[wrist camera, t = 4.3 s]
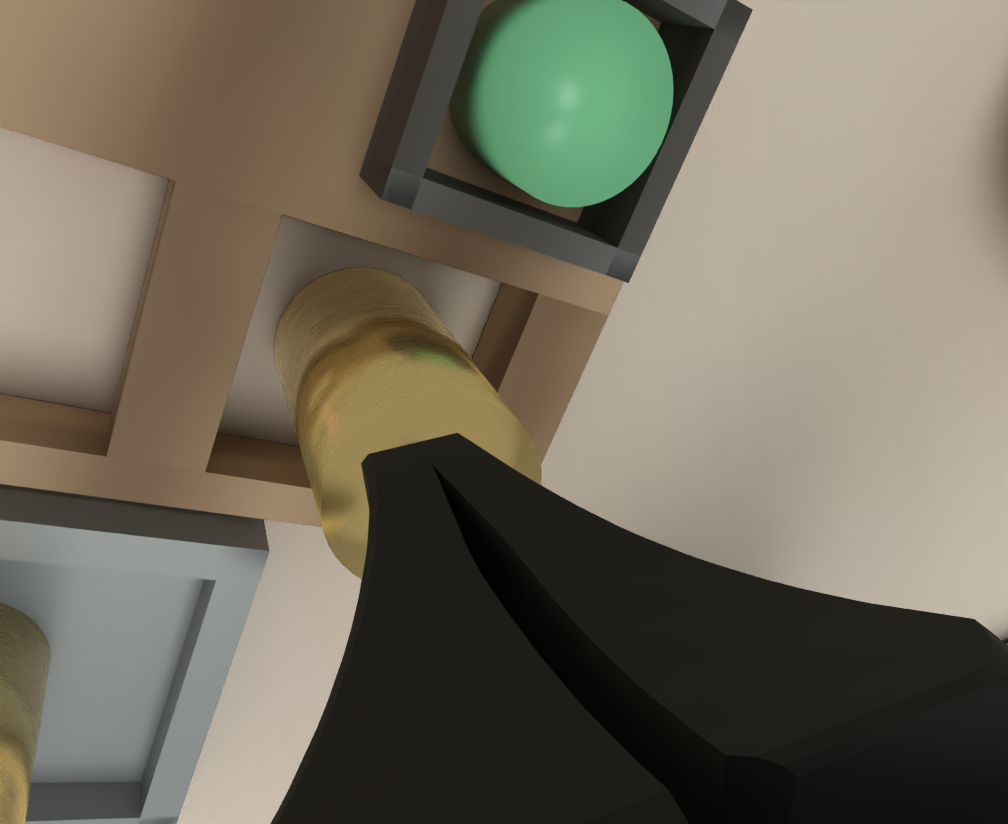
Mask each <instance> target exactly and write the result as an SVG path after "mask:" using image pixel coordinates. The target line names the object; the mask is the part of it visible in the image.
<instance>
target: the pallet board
mask: <svg viewBox="0 0 1008 824" xmlns="http://www.w3.org/2000/svg"><path fill="white" fill-rule="evenodd" d="M496 1H498V0H0V127H3V128H6V129H9V130H12V131H16V132H19V133H22V134H25V135H29V136H32V137H35V138H38V139H42V140H45V141H48V142H51V143H54V144H58V145H61V146H64V147H67V148H71V149H74V150H77V151H80V152H83V153H87V154H90V155H93V156H96V157H100V158H103V159H106V160H109V161H112V162H116V163H119V164H122V165H125V166H129V167H132V168H135V169H138V170H142V171H145V172H148V173H151V174H154V175H158V176H161V177H164V178H167V179H170V180H169V184H168V188H167V192H166V196H165V200H164V204H163V208H162V212H161V216H160V220H159V224H158V228H157V232H156V236H155V240H154V244H153V248H152V252H151V256H150V260H149V264H148V268H147V272H146V276H145V280H144V284H143V288H142V292H141V296H140V300H139V304H138V308H137V312H136V316H135V320H134V324H133V328H132V332H131V337H130V341H129V345H128V349H127V353H126V357H125V361H124V365H123V369H122V373H121V377H120V381H119V385H118V389H117V393H116V397H115V401H114V405H113V409H112V413H106V412H100V411H95V410H89V409H83V408H78V407H72V406H67V405H61V404H55V403H50V402H44V401H39V400H33V399H27V398H22V397H16V396H11V395H5V394H0V484H6V485H13V486H20V487H28V488H35V489H43V490H50V491H58V492H65V493H73V494H80V495H87V496H95V497H102V498H110V499H117V500H125V501H132V502H140V503H147V504H154V505H162V506H169V507H177V508H184V509H192V510H199V511H207V512H214V513H221V514H229V515H236V516H244V517H251V518H259V519H266V520H274V521H281V522H288V523H296V524H303V525H311V526H318V527H322V523H321V520H320V516H319V513H318V509H317V506H316V502H315V499H314V495H313V492H312V488H311V485H310V481H309V478H308V474H307V471H306V467H305V464H304V460H303V457H302V453H301V450H300V447H296V446H290V445H285V444H279V443H274V442H268V441H262V440H257V439H251V438H246V437H240V436H234V435H229V434H223V433H218V432H217V431H218V427H219V424H220V421H221V417H222V414H223V411H224V407H225V404H226V401H227V397H228V394H229V391H230V387H231V384H232V381H233V377H234V374H235V370H236V367H237V364H238V360H239V357H240V354H241V350H242V347H243V344H244V340H245V337H246V334H247V330H248V327H249V324H250V320H251V317H252V314H253V310H254V307H255V304H256V300H257V297H258V294H259V290H260V287H261V283H262V280H263V277H264V273H265V270H266V267H267V263H268V260H269V257H270V253H271V250H272V247H273V243H274V240H275V237H276V233H277V230H278V227H279V223H280V220H281V217H282V214H283V215H287V216H290V217H293V218H296V219H300V220H303V221H306V222H309V223H312V224H316V225H319V226H322V227H325V228H329V229H332V230H335V231H338V232H341V233H345V234H348V235H351V236H354V237H358V238H361V239H364V240H367V241H370V242H374V243H377V244H380V245H383V246H387V247H390V248H393V249H396V250H400V251H403V252H406V253H409V254H412V255H416V256H419V257H422V258H425V259H429V260H432V261H435V262H438V263H441V264H445V265H448V266H451V267H454V268H458V269H461V270H464V271H467V272H470V273H474V274H477V275H480V276H483V277H487V278H490V279H493V280H496V281H500V282H503V283H502V286H501V288H500V290H499V293H498V295H497V298H496V300H495V303H494V305H493V308H492V310H491V313H490V315H489V318H488V320H487V323H486V325H485V328H484V330H483V333H482V335H481V338H480V340H479V343H478V345H477V348H476V350H475V353H474V355H473V358H472V361H473V362H474V364H475V365H476V366H477V368H478V369H479V370H480V372H481V373H482V374H483V375H484V377H485V378H486V379H487V381H488V382H489V383H490V384H491V386H492V387H493V388H494V390H495V391H496V392H497V393H498V395H499V396H500V397H501V399H502V400H503V401H504V402H505V404H506V405H507V406H508V408H509V409H510V410H511V411H512V413H513V414H514V415H515V417H516V418H517V419H518V420H519V422H520V423H521V424H522V426H523V427H524V428H525V429H526V431H527V432H528V433H529V435H530V437H531V438H532V440H533V442H534V444H535V446H536V449H537V452H538V455H539V460H540V465H541V463H542V461H543V459H544V457H545V455H546V452H547V450H548V448H549V446H550V444H551V441H552V439H553V437H554V435H555V432H556V430H557V428H558V426H559V424H560V421H561V419H562V417H563V415H564V413H565V410H566V408H567V406H568V404H569V402H570V399H571V397H572V395H573V393H574V390H575V388H576V386H577V384H578V382H579V379H580V377H581V375H582V373H583V371H584V368H585V366H586V364H587V362H588V360H589V357H590V355H591V353H592V351H593V348H594V346H595V344H596V342H597V340H598V337H599V335H600V333H601V331H602V329H603V326H604V324H605V322H606V320H607V318H608V315H609V313H610V311H611V309H612V306H613V304H614V302H615V300H616V298H617V295H618V293H619V291H620V289H621V287H622V284H623V282H627V283H629V281H630V279H631V276H632V274H633V272H634V270H635V268H636V265H637V263H638V261H639V259H640V257H641V254H642V252H643V250H644V248H645V246H646V243H647V241H648V239H649V237H650V235H651V232H652V230H653V228H654V226H655V224H656V221H657V219H658V217H659V215H660V213H661V210H662V208H663V206H664V204H665V202H666V199H667V197H668V195H669V193H670V191H671V188H672V186H673V184H674V182H675V180H676V177H677V175H678V173H679V171H680V169H681V166H682V164H683V162H684V160H685V158H686V155H687V153H688V151H689V149H690V147H691V144H692V142H693V140H694V138H695V136H696V133H697V131H698V129H699V127H700V125H701V122H702V120H703V118H704V116H705V114H706V111H707V109H708V107H709V105H710V103H711V100H712V98H713V96H714V94H715V92H716V89H717V87H718V85H719V83H720V81H721V78H722V76H723V74H724V72H725V70H726V67H727V65H728V63H729V61H730V59H731V56H732V54H733V52H734V50H735V48H736V45H737V43H738V41H739V39H740V37H741V34H742V32H743V30H744V28H745V26H746V23H747V21H748V19H749V17H750V15H751V12H752V9H750V8H749V7H747V6H745V5H743V4H742V3H740V2H738V1H737V0H622V1H624V2H627V3H628V4H630V5H631V6H633V7H634V8H636V9H637V10H638V11H640V12H641V13H642V14H643V15H644V16H645V17H646V18H647V19H648V20H649V21H650V23H651V24H652V25H653V26H654V27H655V29H656V31H657V32H658V34H659V35H660V37H661V39H662V41H663V43H664V46H665V48H666V50H667V53H668V57H669V60H670V64H671V69H672V75H673V105H672V111H671V117H670V120H669V124H668V128H667V131H666V134H665V136H664V139H663V141H662V143H661V145H660V147H659V149H658V151H657V153H656V155H655V156H654V158H653V159H652V161H651V163H650V164H649V165H648V167H647V168H646V169H645V170H644V172H643V173H642V174H641V175H640V176H639V177H638V178H637V179H636V180H635V181H634V182H633V183H632V184H631V185H629V186H628V187H627V188H626V189H624V190H623V191H621V192H620V193H618V194H616V195H615V196H613V197H611V198H609V199H607V200H605V201H602V202H600V203H596V204H593V205H589V206H582V207H562V206H556V205H552V204H549V203H545V202H543V201H541V200H539V199H537V198H535V197H533V196H532V195H530V194H528V193H527V192H525V191H524V190H522V189H520V188H519V187H517V186H516V185H514V184H513V183H511V182H509V181H508V180H506V179H505V178H503V177H501V176H500V175H498V174H497V173H495V172H494V171H492V170H490V169H489V168H487V167H486V166H484V165H483V164H482V163H481V162H480V161H478V160H477V159H476V158H475V157H474V156H473V155H472V153H471V152H470V151H469V150H468V149H467V147H466V146H465V144H464V143H463V141H462V140H461V137H460V135H459V133H458V131H457V129H456V126H455V123H454V120H453V117H452V112H451V107H450V99H451V96H452V93H453V90H454V87H455V85H456V82H457V79H458V76H459V73H460V70H461V67H462V65H463V62H464V59H465V56H466V53H467V50H468V48H469V45H470V42H471V39H472V36H473V33H474V30H475V28H476V25H477V22H478V19H479V16H480V14H481V13H482V12H483V11H484V10H485V9H487V8H488V7H489V6H490V5H492V4H493V3H495V2H496Z"/></svg>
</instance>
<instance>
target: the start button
mask: <svg viewBox="0 0 1008 824" xmlns="http://www.w3.org/2000/svg"><path fill="white" fill-rule="evenodd" d="M672 105H673V75H672V69H671V64H670V60H669V57H668V53H667V50H666V48H665V46H664V43H663V41H662V39H661V37H660V35H659V34H658V32H657V31H656V29H655V27H654V26H653V25H652V24H651V23H650V21H649V20H648V19H647V18H646V17H645V16H644V15H643V14H642V13H641V12H640V11H638V10H637V9H636V8H634V7H633V6H631V5H630V4H628V3H627V2H624V1H622V0H498V1H496V2H495V3H493V4H492V5H490V6H489V7H488V8H487V9H485V10H484V11H483V12H482V13H481V14H480V16H479V19H478V22H477V25H476V28H475V30H474V33H473V36H472V39H471V42H470V45H469V48H468V50H467V53H466V56H465V59H464V62H463V65H462V67H461V70H460V73H459V76H458V79H457V82H456V85H455V87H454V90H453V93H452V96H451V99H450V107H451V112H452V117H453V120H454V123H455V126H456V129H457V131H458V133H459V135H460V137H461V140H462V141H463V143H464V144H465V146H466V147H467V149H468V150H469V151H470V152H471V153H472V155H473V156H474V157H475V158H476V159H477V160H478V161H480V162H481V163H482V164H483V165H484V166H486V167H487V168H489V169H490V170H492V171H494V172H495V173H497V174H498V175H500V176H501V177H503V178H505V179H506V180H508V181H509V182H511V183H513V184H514V185H516V186H517V187H519V188H520V189H522V190H524V191H525V192H527V193H528V194H530V195H532V196H533V197H535V198H537V199H539V200H541V201H543V202H545V203H549V204H552V205H556V206H562V207H582V206H589V205H593V204H596V203H600V202H602V201H605V200H607V199H609V198H611V197H613V196H615V195H616V194H618V193H620V192H621V191H623V190H624V189H626V188H627V187H628V186H629V185H631V184H632V183H633V182H634V181H635V180H636V179H637V178H638V177H639V176H640V175H641V174H642V173H643V172H644V170H645V169H646V168H647V167H648V165H649V164H650V163H651V161H652V159H653V158H654V156H655V155H656V153H657V151H658V149H659V147H660V145H661V143H662V141H663V139H664V136H665V134H666V131H667V128H668V124H669V120H670V117H671V111H672Z"/></svg>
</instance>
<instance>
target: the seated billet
mask: <svg viewBox="0 0 1008 824" xmlns="http://www.w3.org/2000/svg"><path fill="white" fill-rule="evenodd" d="M274 349H275V360H276V364H277V369H278V372H279V376H280V379H281V383H282V386H283V390H284V393H285V397H286V400H287V404H288V407H289V411H290V414H291V418H292V421H293V425H294V428H295V432H296V435H297V439H298V443H299V446H300V450H301V453H302V457H303V460H304V464H305V467H306V471H307V474H308V478H309V481H310V485H311V488H312V492H313V495H314V499H315V502H316V506H317V509H318V513H319V516H320V520H321V523H322V527H323V531H324V534H325V537H326V539H327V542H328V544H329V546H330V548H331V550H332V551H333V553H334V555H335V556H336V557H337V559H338V560H339V561H340V562H341V563H342V565H344V566H345V567H346V568H347V569H348V570H349V571H350V572H352V573H353V574H355V575H356V576H358V577H359V578H361V579H362V576H363V570H364V564H365V558H366V551H367V540H368V525H369V506H368V500H367V495H366V489H365V483H364V478H363V472H362V466H361V463H362V461H363V460H364V459H365V458H366V456H367V455H368V454H370V453H374V452H378V451H383V450H387V449H391V448H395V447H399V446H404V445H408V444H412V443H416V442H420V441H425V440H429V439H433V438H437V437H441V436H446V435H450V434H454V433H459V434H461V435H462V436H464V437H465V438H467V439H469V440H470V441H472V442H473V443H475V444H476V445H478V446H479V447H481V448H482V449H484V450H485V451H487V452H488V453H490V454H491V455H493V456H495V457H496V458H498V459H499V460H501V461H502V462H504V463H505V464H507V465H509V466H510V467H512V468H513V469H515V470H516V471H518V472H520V473H521V474H523V475H525V476H526V477H528V478H529V479H531V480H533V481H534V482H536V483H538V484H540V485H541V465H540V460H539V455H538V452H537V449H536V446H535V444H534V442H533V440H532V438H531V437H530V435H529V433H528V432H527V431H526V429H525V428H524V427H523V426H522V424H521V423H520V422H519V420H518V419H517V418H516V417H515V415H514V414H513V413H512V411H511V410H510V409H509V408H508V406H507V405H506V404H505V402H504V401H503V400H502V399H501V397H500V396H499V395H498V393H497V392H496V391H495V390H494V388H493V387H492V386H491V384H490V383H489V382H488V381H487V379H486V378H485V377H484V375H483V374H482V373H481V372H480V370H479V369H478V368H477V366H476V365H475V364H474V362H473V361H472V360H471V359H470V357H469V356H468V355H467V353H466V352H465V351H464V350H463V348H462V347H461V346H460V344H459V343H458V342H457V341H456V339H455V338H454V337H453V335H452V334H451V333H450V332H449V330H448V329H447V328H446V326H445V325H444V324H443V323H442V321H441V320H440V319H439V317H438V316H437V315H436V314H435V312H434V311H433V310H432V308H431V307H430V306H429V305H428V303H427V302H426V301H425V299H424V298H423V297H422V296H421V294H420V293H419V292H418V291H417V290H416V289H415V288H414V287H413V286H412V285H410V284H409V283H408V282H406V281H405V280H404V279H402V278H400V277H398V276H396V275H394V274H391V273H389V272H386V271H382V270H378V269H373V268H349V269H343V270H339V271H335V272H332V273H329V274H327V275H324V276H322V277H320V278H318V279H317V280H315V281H313V282H312V283H310V284H309V285H307V286H306V287H305V288H304V289H302V290H301V291H300V292H299V293H298V294H297V295H296V296H295V297H294V298H293V299H292V301H291V302H290V303H289V305H288V306H287V308H286V309H285V311H284V313H283V315H282V317H281V319H280V322H279V324H278V327H277V331H276V336H275V345H274Z"/></svg>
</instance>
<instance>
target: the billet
mask: <svg viewBox="0 0 1008 824" xmlns="http://www.w3.org/2000/svg"><path fill="white" fill-rule="evenodd" d="M50 662H51V651H50V646H49V643H48V640H47V638H46V636H45V634H44V633H43V631H42V630H41V628H40V627H39V626H38V625H37V624H36V623H35V622H34V621H33V620H32V619H31V618H29V617H28V616H27V615H25V614H24V613H22V612H21V611H19V610H17V609H15V608H13V607H11V606H9V605H6V604H3V603H0V824H25V820H26V814H27V807H28V801H29V795H30V788H31V782H32V776H33V770H34V763H35V757H36V751H37V744H38V738H39V732H40V725H41V719H42V713H43V706H44V700H45V694H46V687H47V681H48V675H49V668H50Z"/></svg>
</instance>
